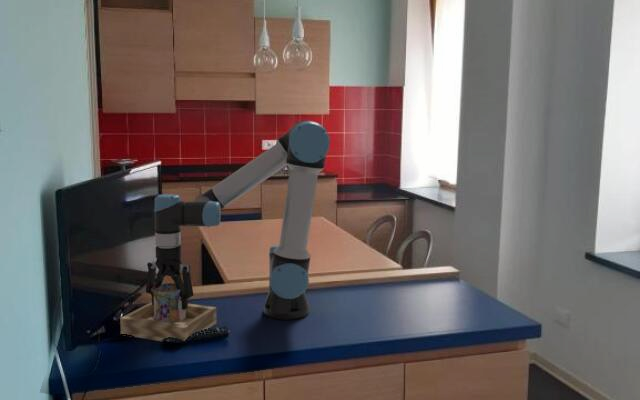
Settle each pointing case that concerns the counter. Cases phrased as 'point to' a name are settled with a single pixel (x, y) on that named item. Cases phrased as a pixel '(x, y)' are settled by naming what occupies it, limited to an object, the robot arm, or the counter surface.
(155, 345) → the counter surface
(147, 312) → the wooden tray
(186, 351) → the counter surface
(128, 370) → the counter surface
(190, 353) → the counter surface
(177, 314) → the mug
